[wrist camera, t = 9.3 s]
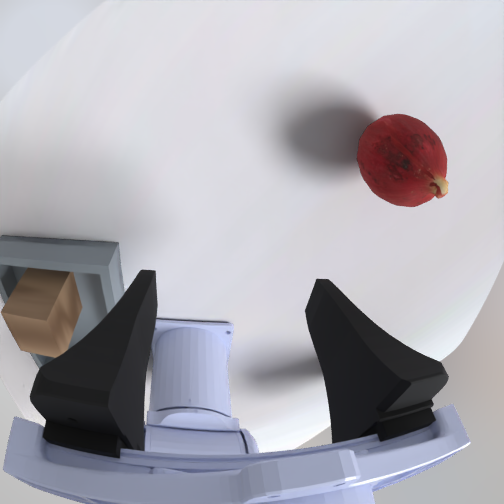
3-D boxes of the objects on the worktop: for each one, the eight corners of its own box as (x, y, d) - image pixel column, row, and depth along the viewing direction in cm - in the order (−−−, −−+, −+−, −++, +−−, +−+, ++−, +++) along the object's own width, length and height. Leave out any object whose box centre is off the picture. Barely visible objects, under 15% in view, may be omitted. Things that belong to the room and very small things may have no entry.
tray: (138, 363, 30) (135, 385, 28) (46, 350, 28) (39, 369, 26) (118, 242, 22) (108, 266, 19) (2, 235, 19) (-15, 254, 17)
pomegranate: (325, 158, 20) (378, 209, 13) (364, 90, 17) (438, 111, 11) (382, 191, 22) (440, 248, 15) (418, 132, 19) (490, 170, 13)
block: (82, 307, 24) (64, 359, 19) (42, 301, 23) (20, 350, 18) (72, 267, 21) (46, 320, 16) (30, 263, 21) (0, 312, 16)
